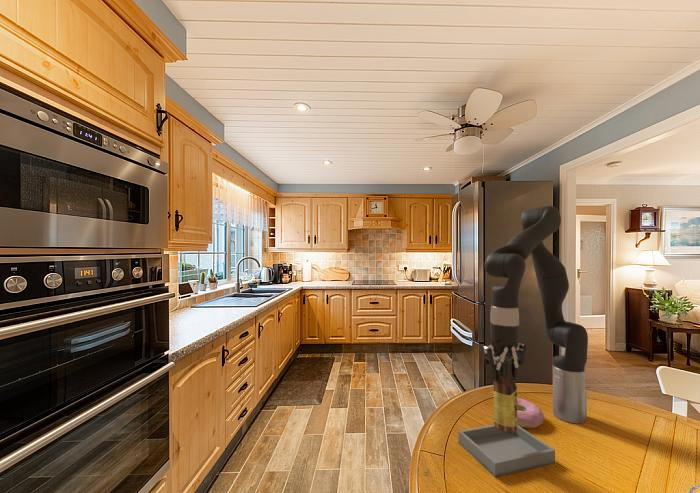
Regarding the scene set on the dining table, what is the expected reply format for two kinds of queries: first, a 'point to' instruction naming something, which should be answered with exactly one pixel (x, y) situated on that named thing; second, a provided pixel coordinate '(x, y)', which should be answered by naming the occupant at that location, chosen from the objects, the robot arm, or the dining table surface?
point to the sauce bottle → (505, 399)
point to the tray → (506, 449)
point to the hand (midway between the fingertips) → (504, 380)
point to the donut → (528, 414)
